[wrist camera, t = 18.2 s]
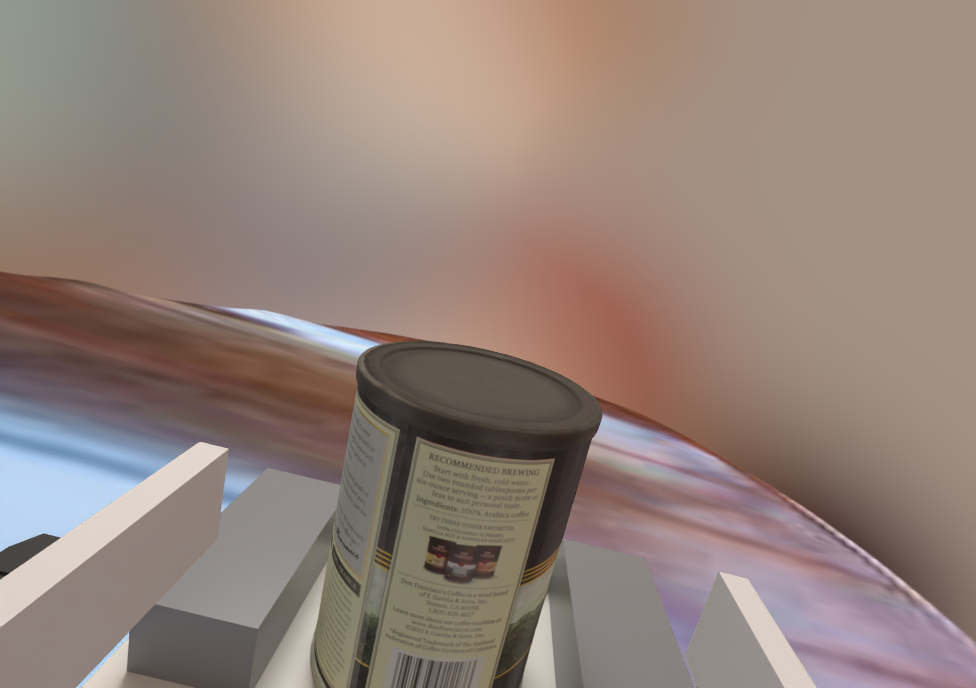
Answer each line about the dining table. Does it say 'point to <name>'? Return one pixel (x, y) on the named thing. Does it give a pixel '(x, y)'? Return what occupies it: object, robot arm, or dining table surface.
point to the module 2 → (610, 623)
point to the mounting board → (290, 667)
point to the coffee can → (448, 517)
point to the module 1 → (240, 587)
